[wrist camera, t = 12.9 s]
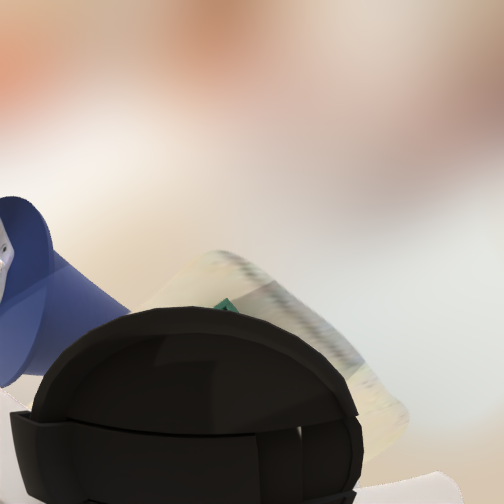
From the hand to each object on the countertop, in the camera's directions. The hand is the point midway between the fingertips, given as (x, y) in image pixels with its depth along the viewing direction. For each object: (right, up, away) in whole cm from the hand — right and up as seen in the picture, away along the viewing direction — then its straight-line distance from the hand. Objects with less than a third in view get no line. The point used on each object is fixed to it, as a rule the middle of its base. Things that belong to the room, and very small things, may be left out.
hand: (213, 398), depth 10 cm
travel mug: (-2, -5, +10) cm, 12 cm away
